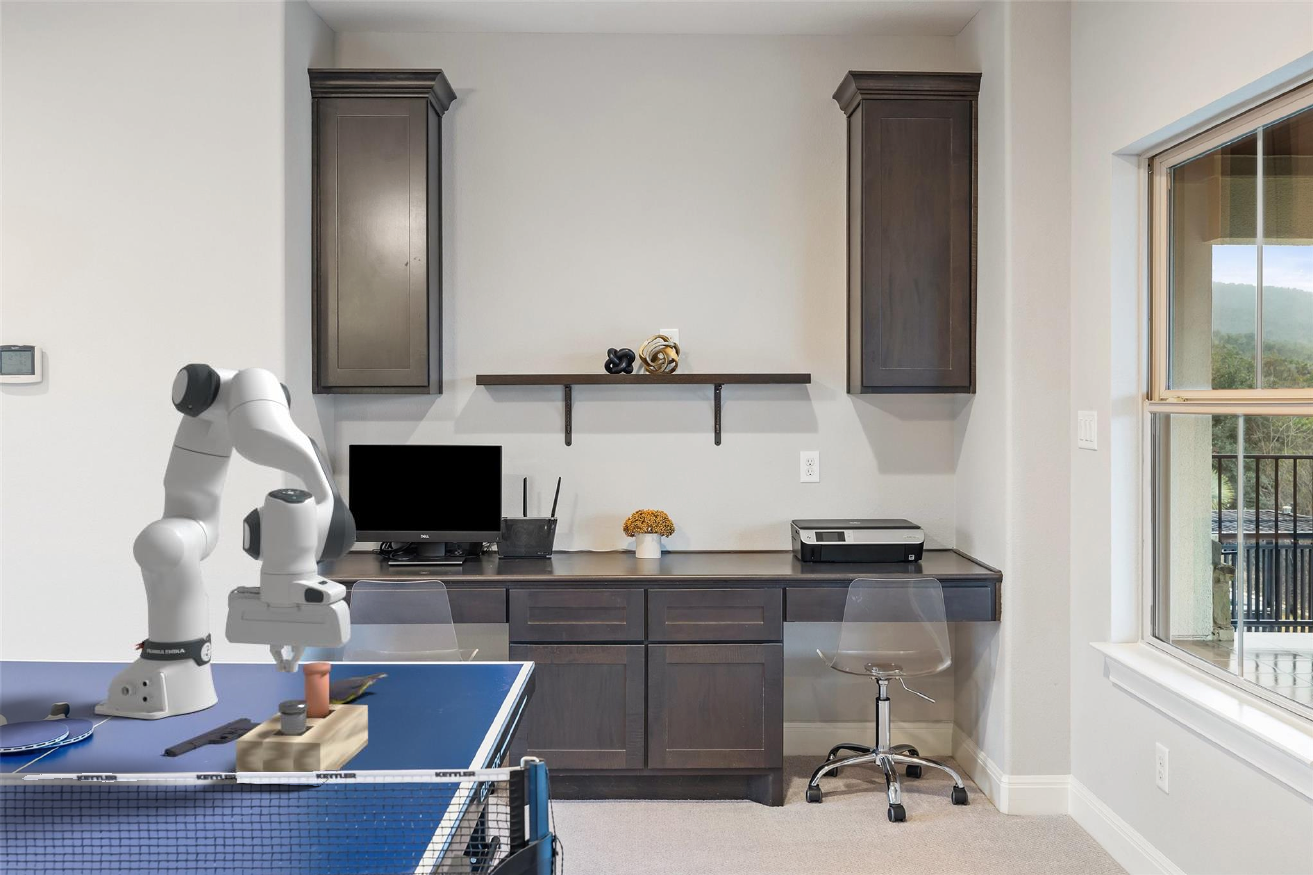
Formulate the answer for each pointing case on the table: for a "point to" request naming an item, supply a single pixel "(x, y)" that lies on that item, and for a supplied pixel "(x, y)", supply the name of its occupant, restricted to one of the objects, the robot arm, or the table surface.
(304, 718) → the metal plug
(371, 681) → the bird model
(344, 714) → the beech block
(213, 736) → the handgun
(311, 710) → the rust plug
